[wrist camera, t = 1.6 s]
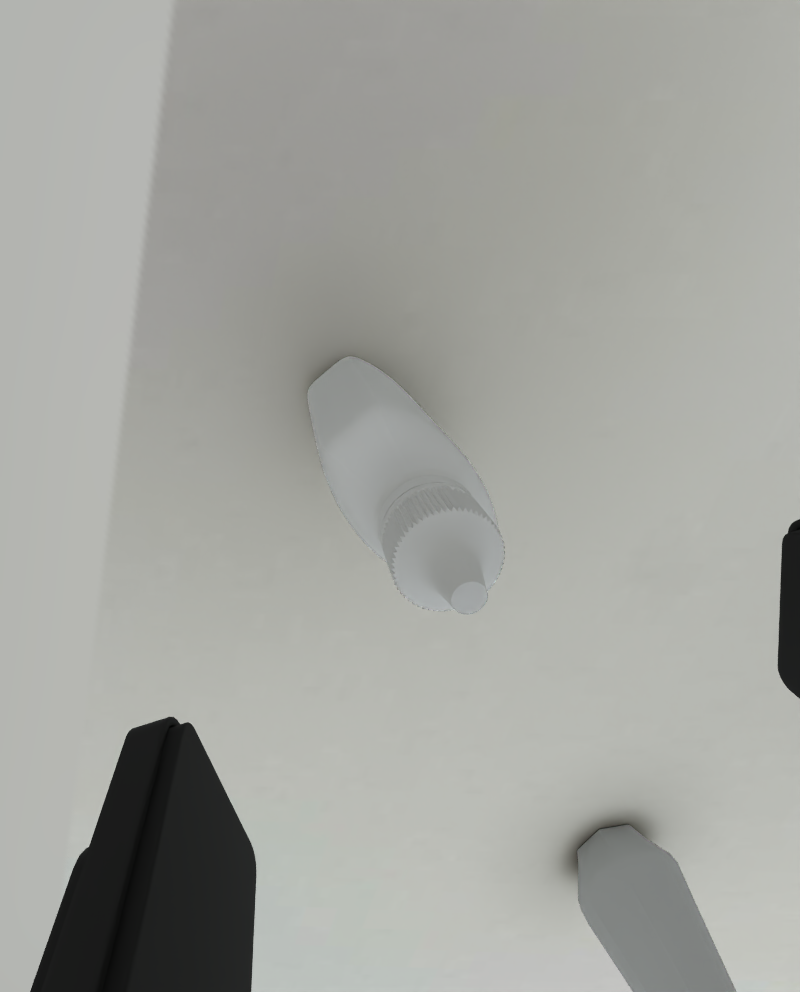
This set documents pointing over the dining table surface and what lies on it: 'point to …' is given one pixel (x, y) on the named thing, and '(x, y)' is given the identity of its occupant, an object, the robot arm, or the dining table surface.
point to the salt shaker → (646, 915)
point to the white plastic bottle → (405, 488)
